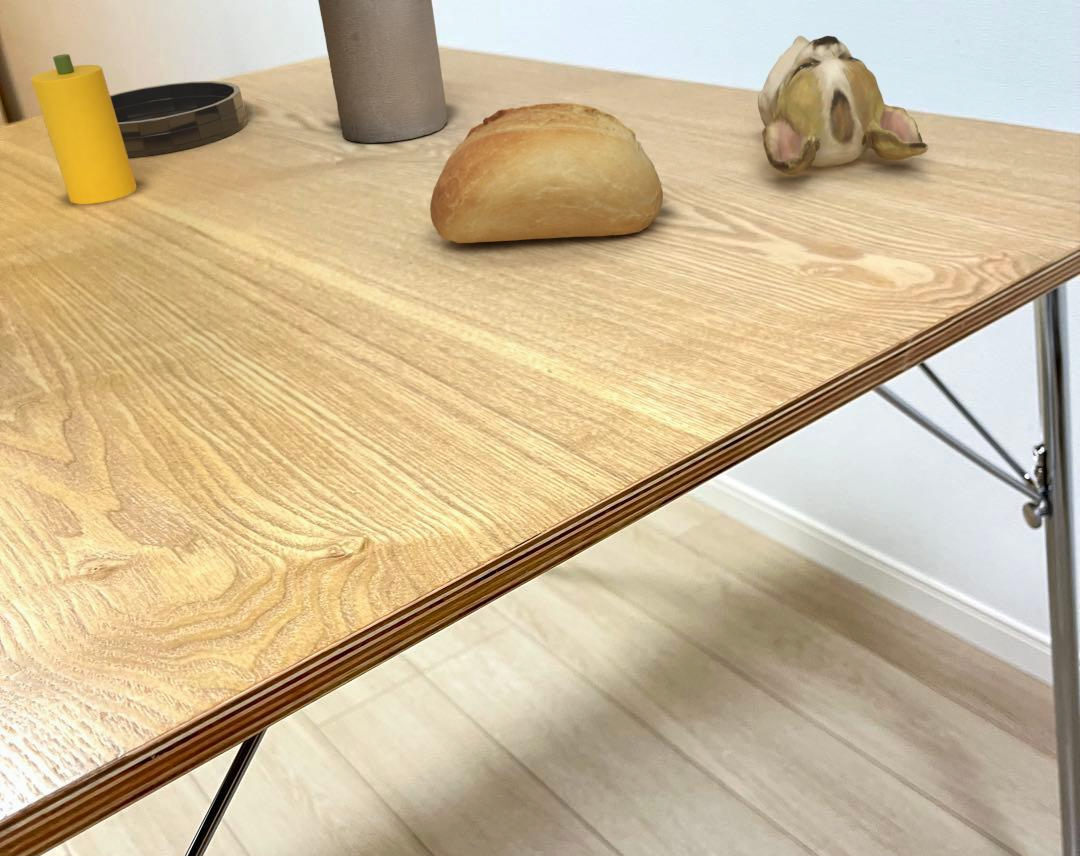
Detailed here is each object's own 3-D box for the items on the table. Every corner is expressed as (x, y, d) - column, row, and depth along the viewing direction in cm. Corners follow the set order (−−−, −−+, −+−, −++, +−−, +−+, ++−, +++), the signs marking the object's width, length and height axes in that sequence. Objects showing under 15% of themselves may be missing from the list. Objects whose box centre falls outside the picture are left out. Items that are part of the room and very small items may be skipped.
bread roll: (438, 224, 79) (420, 104, 75) (653, 200, 79) (648, 79, 75) (433, 273, 71) (413, 142, 67) (672, 247, 71) (668, 114, 67)
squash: (70, 218, 89) (20, 67, 83) (76, 200, 93) (29, 55, 87) (138, 207, 90) (94, 56, 84) (141, 189, 94) (98, 45, 88)
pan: (69, 168, 102) (58, 134, 101) (83, 128, 116) (74, 97, 114) (250, 139, 105) (242, 105, 103) (244, 103, 118) (237, 73, 117)
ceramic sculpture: (871, 3, 84) (947, 55, 72) (863, 123, 89) (933, 190, 77) (727, 22, 84) (780, 77, 72) (728, 140, 89) (777, 211, 77)
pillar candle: (321, 135, 104) (285, -49, 95) (407, 110, 109) (380, -67, 100) (384, 150, 97) (351, -46, 89) (472, 122, 102) (448, -66, 94)
